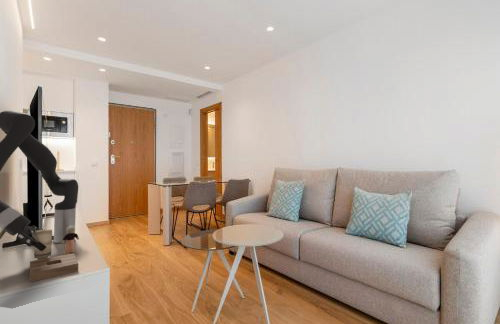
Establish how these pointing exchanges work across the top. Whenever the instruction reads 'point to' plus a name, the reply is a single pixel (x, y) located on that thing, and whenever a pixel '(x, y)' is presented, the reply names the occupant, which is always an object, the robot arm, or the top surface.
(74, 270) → the walnut board
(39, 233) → the beech peg
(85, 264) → the top surface
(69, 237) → the grandmother figurine
